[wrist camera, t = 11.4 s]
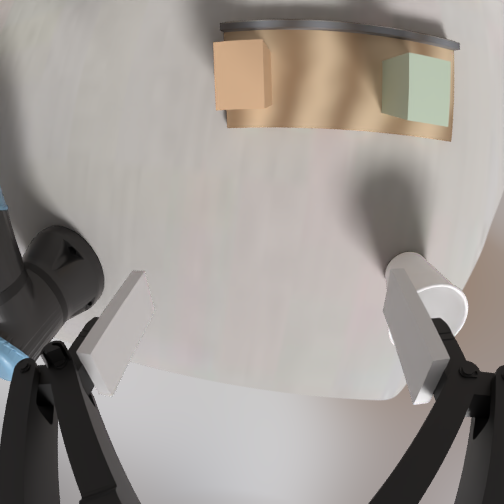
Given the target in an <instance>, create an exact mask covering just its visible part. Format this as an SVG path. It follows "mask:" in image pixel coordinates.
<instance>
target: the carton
mask: <svg viewBox="0 0 504 504" xmlns="http://www.w3.org/2000/svg"><path fill="white" fill-rule="evenodd" d="M450 80H451V62H450V61H446V60H442V59H438V58H433V57H429V56H424V55H419V54H414V53H406V54H402V55H399V56H396V57H393V58H390V59H387V60H384V61H382V112H381V113H384V114H387V115H391V116H394V117H398V118H401V119H405V120H409V121H415V122H422V123H428V124H434V125H440V126H445V127H448V123H449V108H450Z"/></svg>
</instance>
